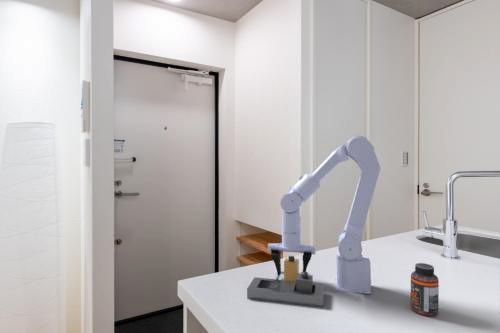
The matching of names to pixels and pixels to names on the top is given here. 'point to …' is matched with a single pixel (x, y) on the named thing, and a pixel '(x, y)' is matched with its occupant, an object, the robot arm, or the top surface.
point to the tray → (282, 276)
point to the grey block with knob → (304, 283)
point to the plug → (291, 268)
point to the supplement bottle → (424, 290)
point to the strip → (284, 292)
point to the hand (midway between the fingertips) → (291, 275)
